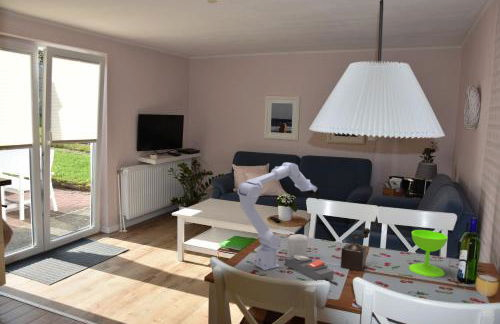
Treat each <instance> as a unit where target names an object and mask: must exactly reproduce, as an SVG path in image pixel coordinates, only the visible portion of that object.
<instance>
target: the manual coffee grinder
mask: <svg viewBox="0 0 500 324" xmlns="http://www.w3.org/2000/svg"><path fill="white" fill-rule="evenodd" d="M362 232H363V235H362V236H357V233H353V236H352V238H353V242H352V243H350V244H349V243H346V244H345V245H344V246H343V247H342V248H341V254H340V255H341V256H340V268H342V269H348V270H353V271H357V272H362V271H363V270H364V269H365V268H366V264H367V263H366V260H367V246H363V245H362V244H361V245H360V244H359V243H356V242H357V241H356V239H367V238H369V234H370V233H371V229H370V228H367V227H364V228H362Z"/></svg>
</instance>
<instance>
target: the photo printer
mask: <svg viewBox="0 0 500 324" xmlns="http://www.w3.org/2000/svg"><path fill="white" fill-rule="evenodd" d="M287 239H288V240H287V251H286V252H287V253H286V254H287V255H286V258H287V257H292V256H294V255H299V256H306V257H308V243H309V242H308V239H309V238H308V236H307V235H305V234H300V233H298V234H297V233H296V234H295V233H294V234H291V235H288V238H287Z"/></svg>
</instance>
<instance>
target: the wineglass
mask: <svg viewBox="0 0 500 324" xmlns="http://www.w3.org/2000/svg"><path fill="white" fill-rule="evenodd" d="M411 238H412V240H413V242H414V245H415V246H417V247H418V248H419V249H421V250H423V251H425V254H424V263H422V262H419V263H412V264H410V265H409V266H408V269H409V271H411V272H412V273H415V274H417V275H420V276H425V277H430V278H439V277H443V276H445V271H444V270H443V269H442V268H440V267H438V266H436V265H433V264H430V256H431V252H436V251H438V250H441V249H443V247H445V246H446V243H447V242H448V236H447V235H446V234H444V233H442V232H438V231H433V230H428V229H427V230H425V229H424V230H423V229H417V230H416V229H415V230H412V231H411Z"/></svg>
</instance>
